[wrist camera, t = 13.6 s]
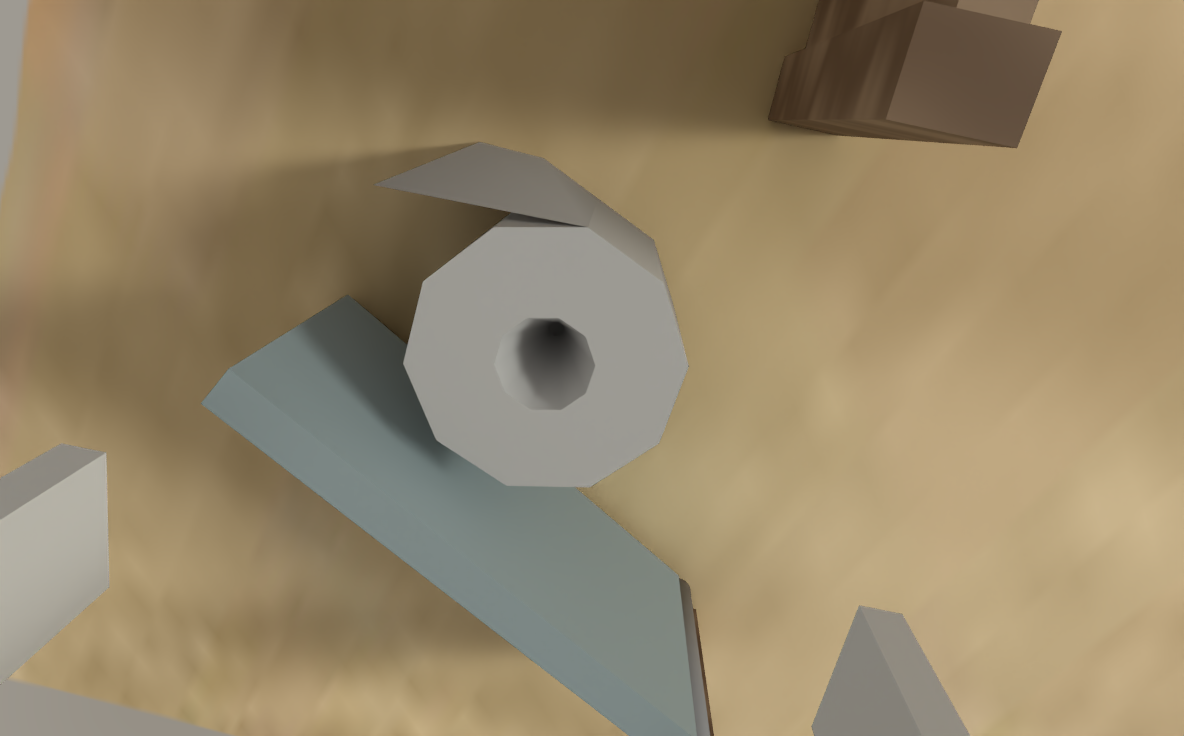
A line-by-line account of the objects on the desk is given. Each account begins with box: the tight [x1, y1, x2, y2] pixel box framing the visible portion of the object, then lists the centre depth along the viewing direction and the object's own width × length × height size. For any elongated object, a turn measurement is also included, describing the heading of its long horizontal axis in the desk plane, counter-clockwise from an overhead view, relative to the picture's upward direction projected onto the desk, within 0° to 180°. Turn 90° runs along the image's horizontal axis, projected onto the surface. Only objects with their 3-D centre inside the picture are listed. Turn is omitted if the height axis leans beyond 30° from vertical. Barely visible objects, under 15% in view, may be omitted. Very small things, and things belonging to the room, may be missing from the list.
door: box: [201, 295, 710, 736], centre depth 29 cm, size 22×3×10 cm, turn 47°
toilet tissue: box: [374, 142, 689, 487], centre depth 28 cm, size 9×13×9 cm
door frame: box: [693, 0, 1062, 736], centre depth 25 cm, size 36×3×14 cm, turn 168°
